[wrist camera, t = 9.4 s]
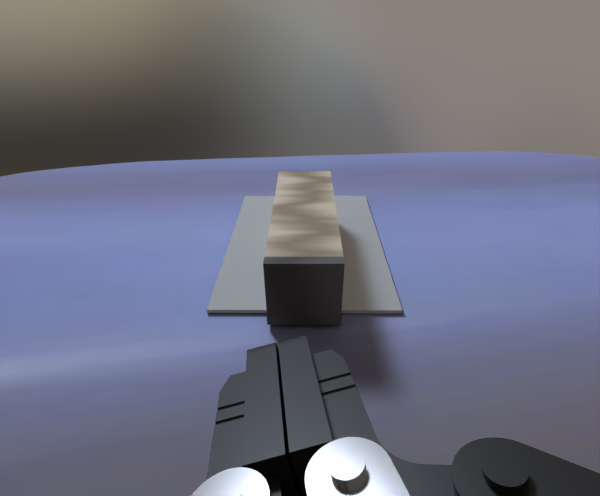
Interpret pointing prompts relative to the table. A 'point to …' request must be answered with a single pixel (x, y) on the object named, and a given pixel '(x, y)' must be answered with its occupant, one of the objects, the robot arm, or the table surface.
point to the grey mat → (356, 250)
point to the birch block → (304, 252)
